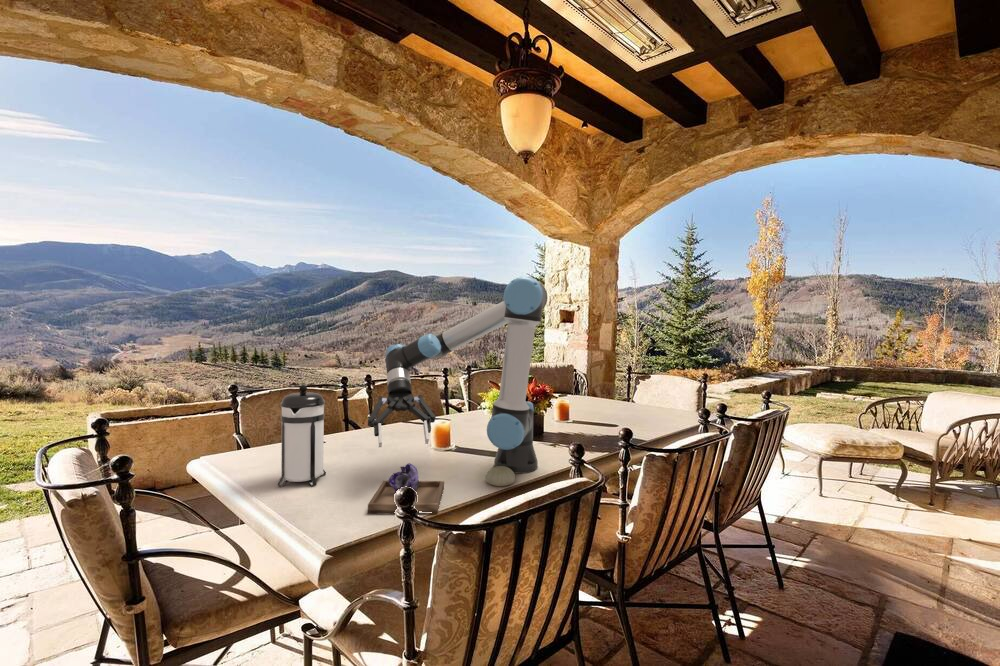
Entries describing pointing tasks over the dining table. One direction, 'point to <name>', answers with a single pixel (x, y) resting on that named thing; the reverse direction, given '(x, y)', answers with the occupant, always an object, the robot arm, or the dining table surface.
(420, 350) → the robot arm
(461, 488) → the dining table surface
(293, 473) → the coffee press
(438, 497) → the walnut tray
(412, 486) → the amethyst cluster
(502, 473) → the sea urchin shell
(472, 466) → the dining table surface
